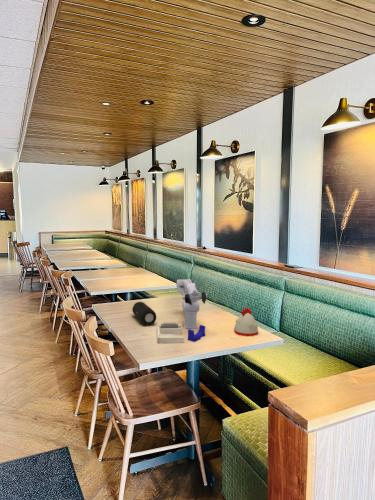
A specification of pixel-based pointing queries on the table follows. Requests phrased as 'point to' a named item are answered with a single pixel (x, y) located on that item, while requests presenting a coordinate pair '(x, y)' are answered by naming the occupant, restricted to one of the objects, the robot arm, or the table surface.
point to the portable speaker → (144, 313)
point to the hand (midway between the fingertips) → (197, 302)
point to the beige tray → (170, 331)
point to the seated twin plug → (169, 325)
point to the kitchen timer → (246, 324)
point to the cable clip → (197, 336)
